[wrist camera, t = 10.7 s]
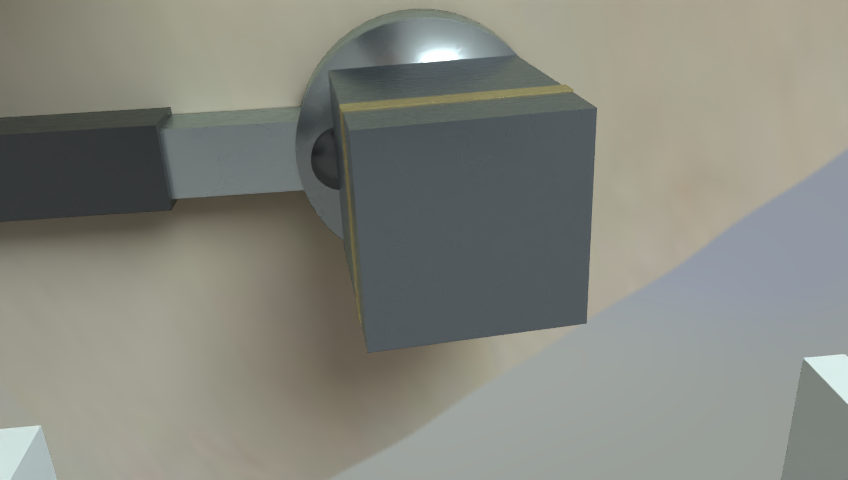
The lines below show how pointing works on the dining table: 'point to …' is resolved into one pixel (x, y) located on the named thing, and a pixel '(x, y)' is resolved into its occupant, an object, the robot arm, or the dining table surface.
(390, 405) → the dining table surface
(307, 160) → the ratchet
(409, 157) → the gold-striped grey cube
